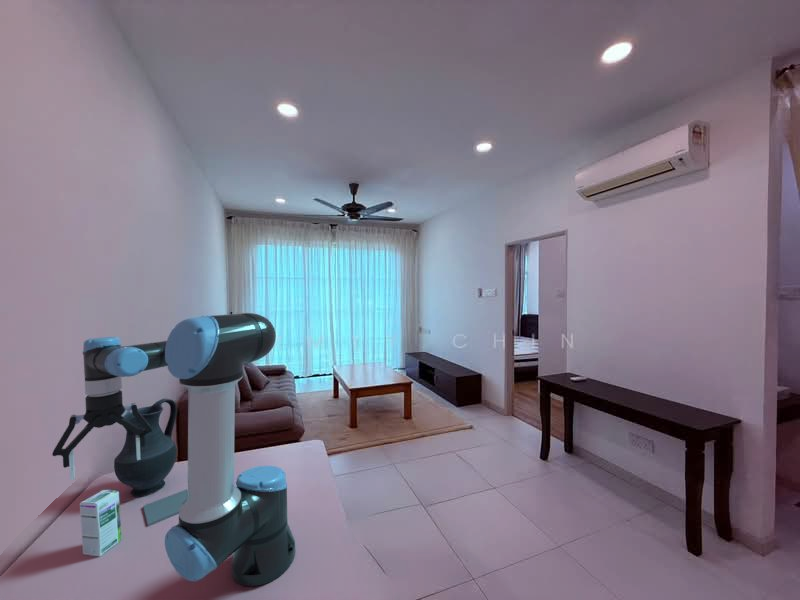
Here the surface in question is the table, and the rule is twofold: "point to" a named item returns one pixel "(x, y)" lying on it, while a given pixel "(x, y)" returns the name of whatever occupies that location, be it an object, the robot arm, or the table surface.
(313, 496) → the table surface
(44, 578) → the table surface
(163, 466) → the pitcher
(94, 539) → the syrup box
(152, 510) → the mat
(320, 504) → the table surface
